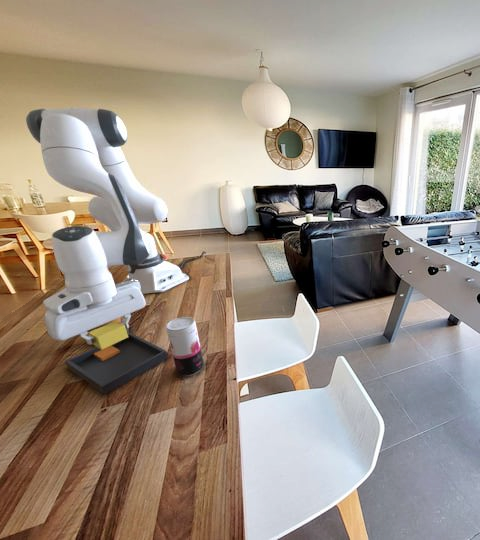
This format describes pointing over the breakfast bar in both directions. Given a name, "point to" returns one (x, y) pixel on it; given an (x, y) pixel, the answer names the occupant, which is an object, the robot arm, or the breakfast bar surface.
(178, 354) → the beverage can
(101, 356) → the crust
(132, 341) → the dark grey tray
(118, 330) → the sponge
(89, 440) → the breakfast bar surface
